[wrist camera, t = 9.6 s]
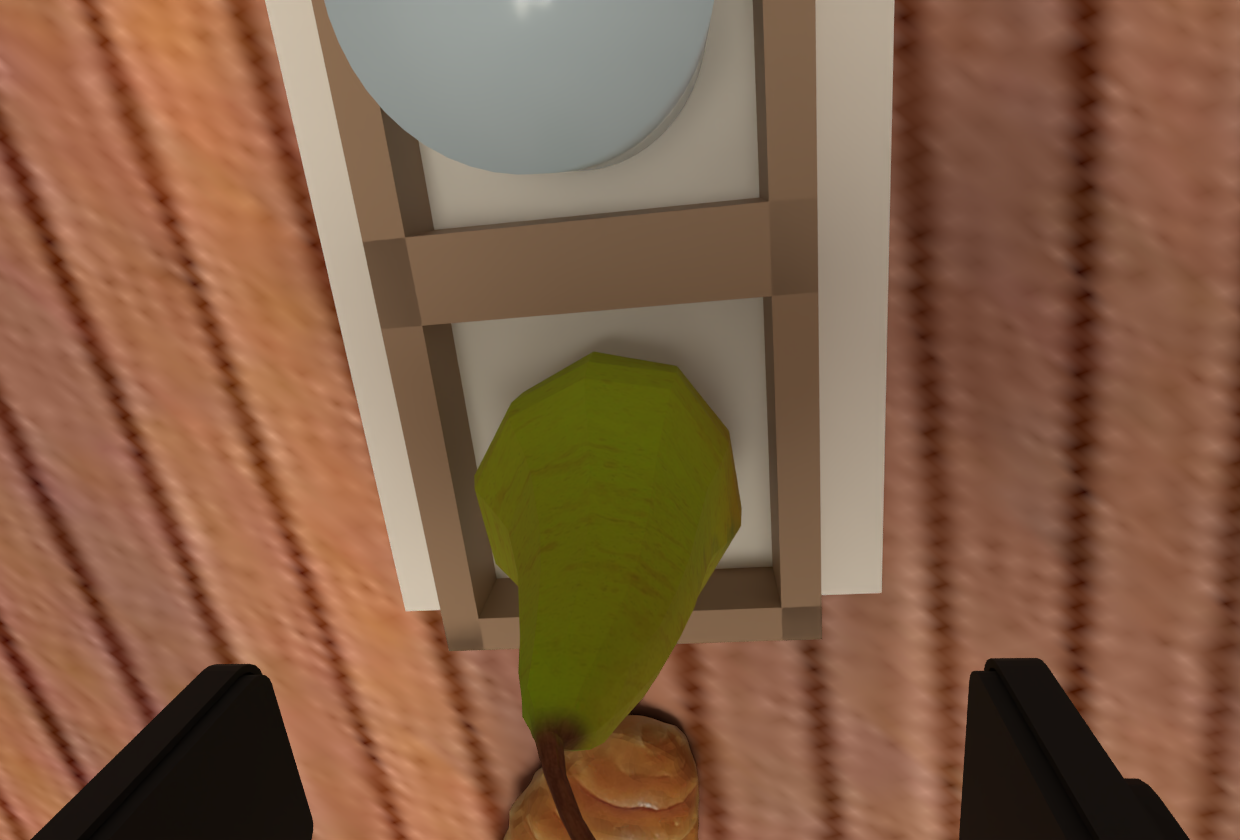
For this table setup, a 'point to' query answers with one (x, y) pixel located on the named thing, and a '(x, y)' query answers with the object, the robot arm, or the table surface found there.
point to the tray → (656, 327)
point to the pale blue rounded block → (527, 75)
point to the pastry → (620, 788)
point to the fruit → (603, 541)
